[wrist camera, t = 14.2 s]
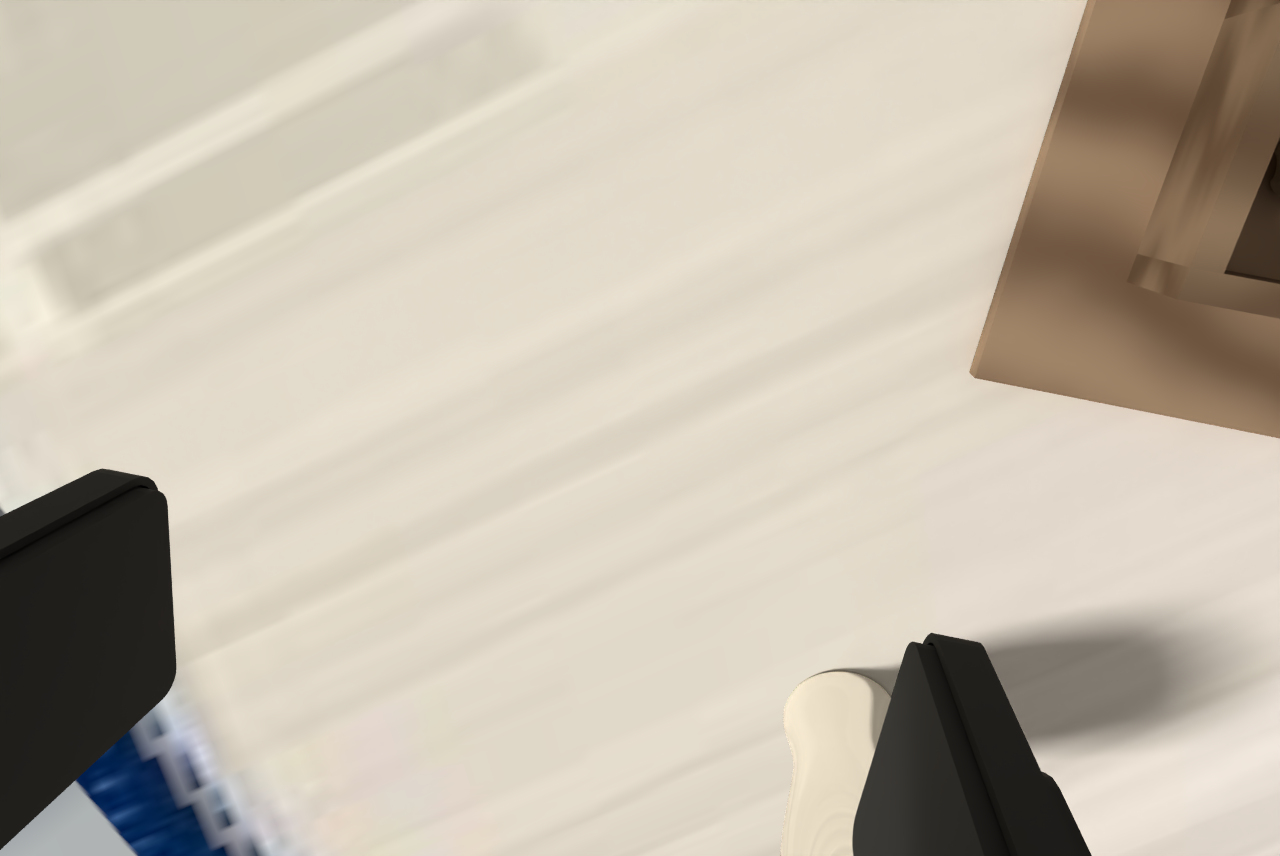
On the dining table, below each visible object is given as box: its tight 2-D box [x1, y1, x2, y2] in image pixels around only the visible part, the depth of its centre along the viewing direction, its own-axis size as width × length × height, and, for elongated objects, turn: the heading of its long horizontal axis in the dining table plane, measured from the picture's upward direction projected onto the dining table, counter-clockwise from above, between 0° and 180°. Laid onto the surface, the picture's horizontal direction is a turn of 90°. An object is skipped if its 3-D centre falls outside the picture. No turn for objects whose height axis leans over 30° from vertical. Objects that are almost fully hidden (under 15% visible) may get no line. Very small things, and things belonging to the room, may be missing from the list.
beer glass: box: [780, 671, 891, 856], centre depth 38 cm, size 7×7×15 cm
